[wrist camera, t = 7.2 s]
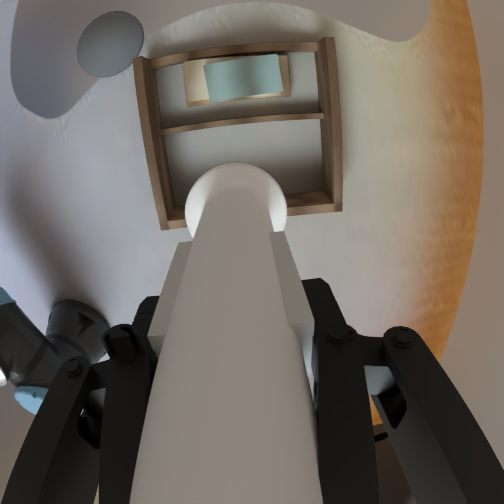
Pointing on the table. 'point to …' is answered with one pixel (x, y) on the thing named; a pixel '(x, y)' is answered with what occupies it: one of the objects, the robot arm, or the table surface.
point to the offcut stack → (235, 79)
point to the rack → (328, 121)
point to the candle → (230, 363)
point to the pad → (110, 44)
